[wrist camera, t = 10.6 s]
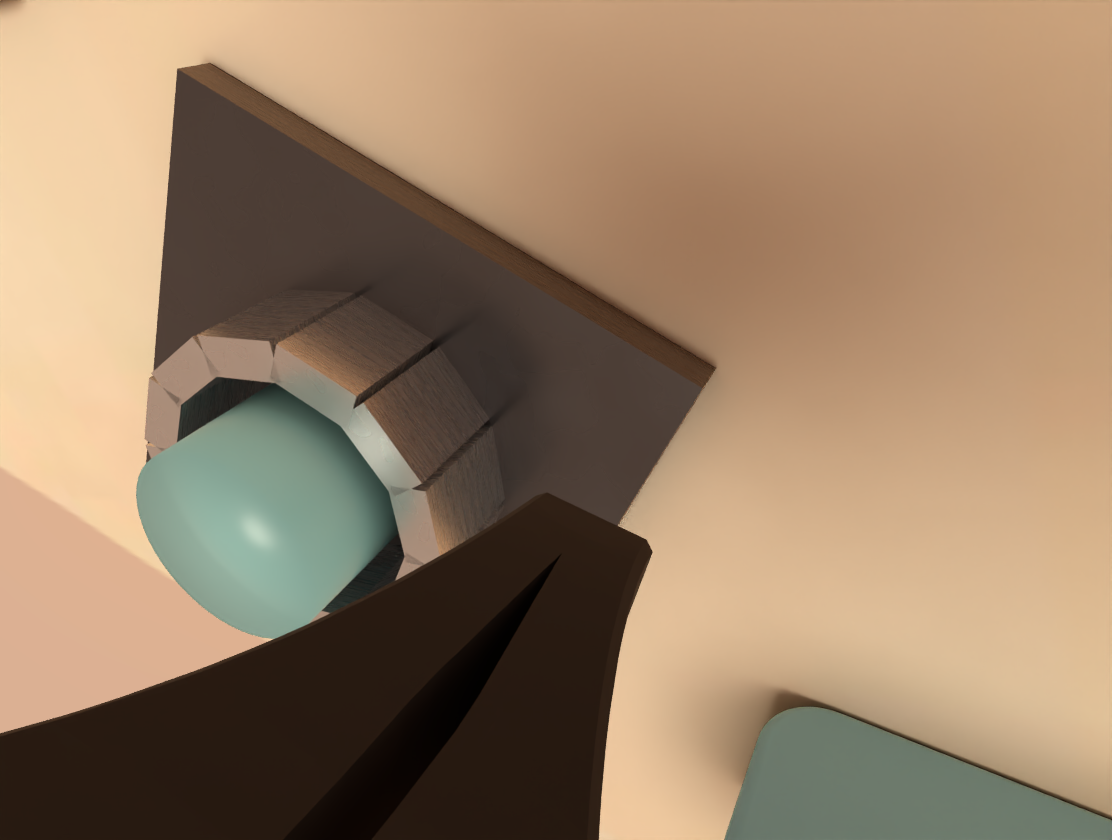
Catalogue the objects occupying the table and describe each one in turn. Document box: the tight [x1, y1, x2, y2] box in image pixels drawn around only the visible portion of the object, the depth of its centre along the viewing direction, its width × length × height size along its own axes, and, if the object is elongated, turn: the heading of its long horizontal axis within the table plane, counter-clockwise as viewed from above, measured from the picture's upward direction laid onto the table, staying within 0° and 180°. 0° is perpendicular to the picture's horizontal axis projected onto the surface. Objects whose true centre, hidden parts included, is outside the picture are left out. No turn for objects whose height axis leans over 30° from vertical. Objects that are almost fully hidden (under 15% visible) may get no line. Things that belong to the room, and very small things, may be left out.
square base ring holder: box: [145, 63, 716, 623], centre depth 22 cm, size 14×14×4 cm
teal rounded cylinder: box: [136, 383, 399, 639], centre depth 21 cm, size 5×5×5 cm
